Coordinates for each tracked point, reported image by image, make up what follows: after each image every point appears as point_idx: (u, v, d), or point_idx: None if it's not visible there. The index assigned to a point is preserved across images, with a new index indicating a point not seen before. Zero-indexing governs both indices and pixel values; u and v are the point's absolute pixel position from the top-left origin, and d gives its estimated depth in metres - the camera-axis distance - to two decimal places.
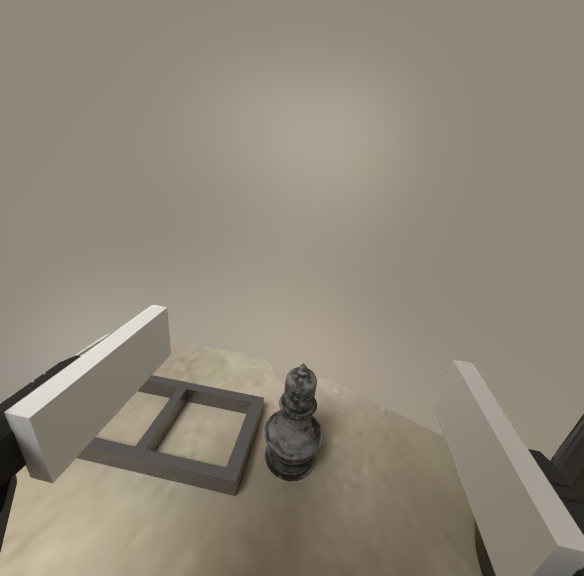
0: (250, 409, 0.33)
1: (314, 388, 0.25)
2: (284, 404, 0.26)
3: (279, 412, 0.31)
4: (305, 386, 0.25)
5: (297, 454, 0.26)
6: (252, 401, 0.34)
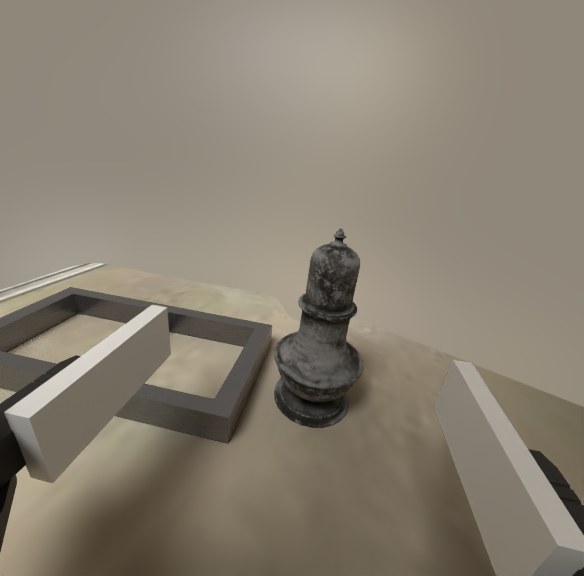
0: (253, 335, 0.23)
1: (357, 270, 0.16)
2: (307, 301, 0.17)
3: (295, 333, 0.21)
4: (345, 260, 0.15)
5: (326, 380, 0.17)
6: (256, 328, 0.24)
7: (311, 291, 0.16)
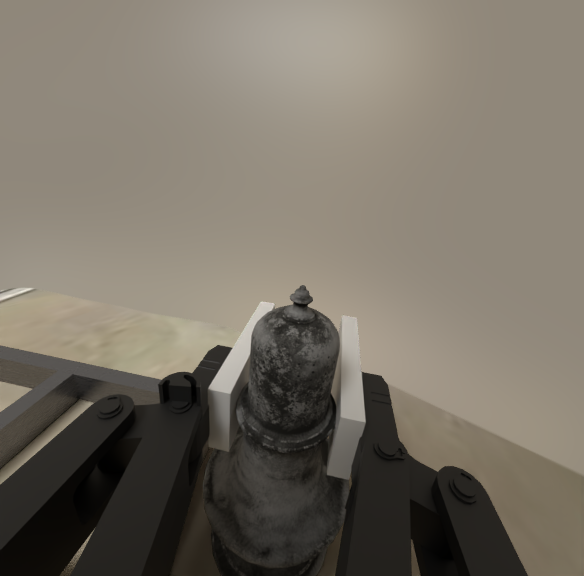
0: None
1: (334, 361, 0.09)
2: (248, 407, 0.09)
3: None
4: (308, 351, 0.08)
5: (283, 548, 0.09)
6: None
7: (253, 394, 0.09)
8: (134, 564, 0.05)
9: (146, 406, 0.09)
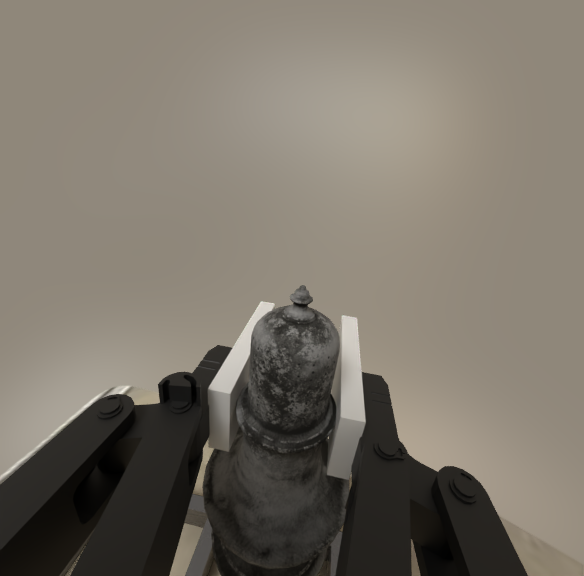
0: (334, 566, 0.19)
1: (334, 361, 0.09)
2: (248, 407, 0.09)
3: None
4: (308, 351, 0.08)
5: (283, 548, 0.09)
6: (333, 544, 0.20)
7: (252, 394, 0.09)
8: (134, 564, 0.05)
9: (146, 406, 0.09)
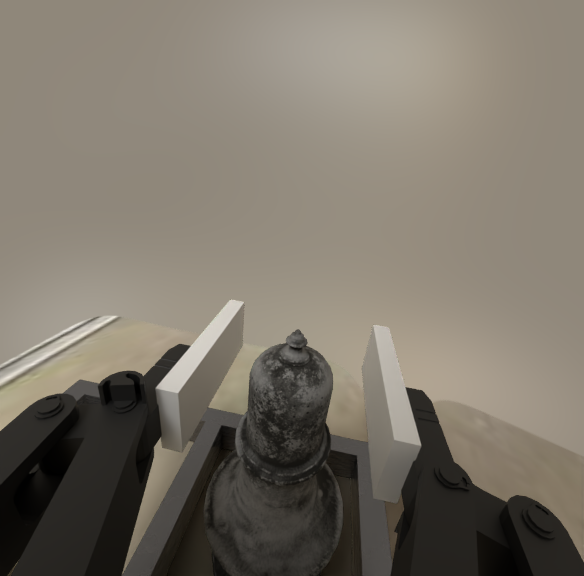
0: (362, 475, 0.15)
1: (327, 399, 0.09)
2: (247, 440, 0.10)
3: None
4: (303, 394, 0.08)
5: (280, 572, 0.10)
6: (358, 454, 0.16)
7: (251, 429, 0.10)
8: (77, 563, 0.05)
9: (92, 406, 0.09)
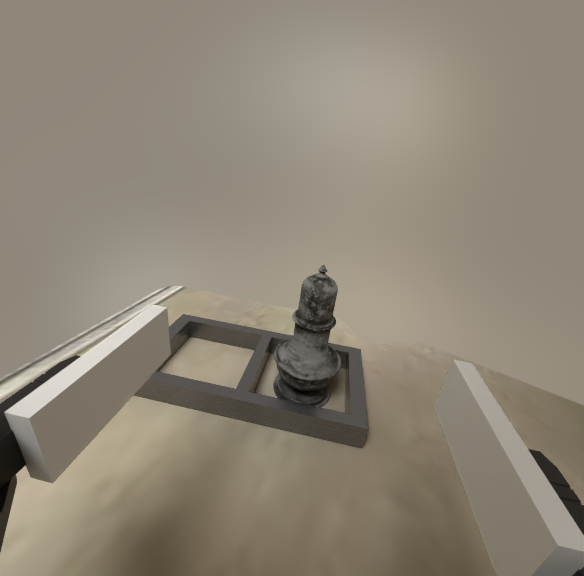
0: (351, 359, 0.28)
1: (335, 294, 0.22)
2: (299, 316, 0.23)
3: (290, 339, 0.27)
4: (326, 288, 0.21)
5: (313, 374, 0.23)
6: (349, 352, 0.29)
7: (302, 309, 0.22)
8: None
9: None
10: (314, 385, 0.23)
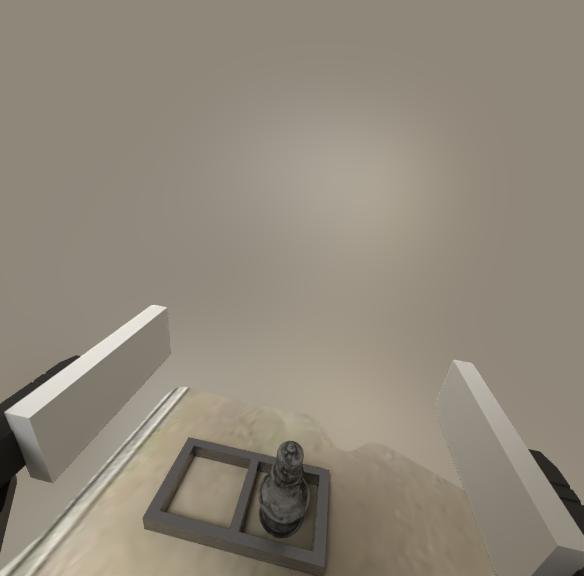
0: (320, 484, 0.36)
1: (301, 462, 0.30)
2: (275, 474, 0.31)
3: None
4: (293, 462, 0.29)
5: (286, 517, 0.31)
6: (320, 474, 0.37)
7: (277, 471, 0.30)
8: None
9: None
10: (288, 523, 0.31)
